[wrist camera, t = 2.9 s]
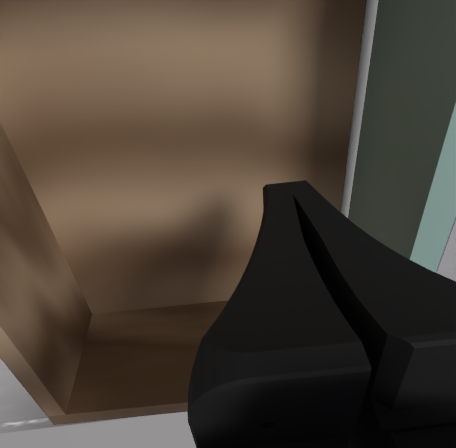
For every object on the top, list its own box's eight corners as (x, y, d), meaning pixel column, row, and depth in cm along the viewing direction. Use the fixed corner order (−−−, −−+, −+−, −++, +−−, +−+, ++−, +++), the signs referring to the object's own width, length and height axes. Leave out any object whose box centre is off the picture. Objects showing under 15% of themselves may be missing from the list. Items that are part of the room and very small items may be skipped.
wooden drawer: (323, 279, 23) (361, 393, 17) (88, 303, 23) (54, 424, 18) (374, -230, 10) (568, -389, 5) (-139, -173, 11) (-506, -272, 5)
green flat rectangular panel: (367, 277, 21) (410, 371, 16) (339, 280, 21) (376, 375, 17) (458, -168, 10) (648, -230, 6) (401, -162, 10) (549, -219, 6)
